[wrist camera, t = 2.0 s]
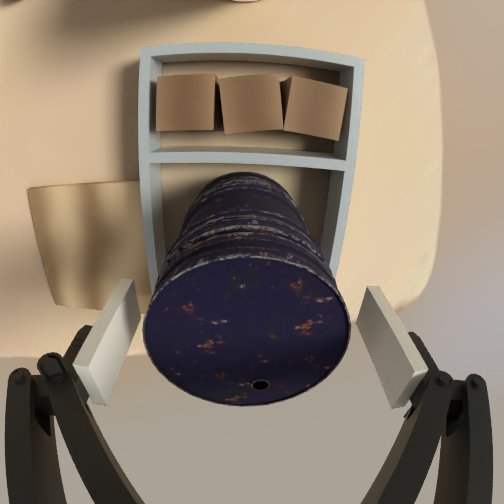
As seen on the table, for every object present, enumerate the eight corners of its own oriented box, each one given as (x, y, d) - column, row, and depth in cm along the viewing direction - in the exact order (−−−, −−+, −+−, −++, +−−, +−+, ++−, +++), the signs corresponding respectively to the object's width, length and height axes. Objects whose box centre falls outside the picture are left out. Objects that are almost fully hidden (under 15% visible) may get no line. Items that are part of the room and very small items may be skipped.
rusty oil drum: (173, 186, 24) (102, 280, 11) (287, 158, 24) (346, 225, 10) (207, 283, 29) (187, 415, 16) (306, 261, 28) (353, 387, 15)
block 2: (227, 130, 23) (224, 134, 19) (222, 84, 21) (218, 78, 17) (276, 126, 23) (283, 129, 19) (272, 79, 21) (278, 73, 17)
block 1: (169, 127, 22) (155, 131, 19) (170, 81, 20) (157, 76, 17) (217, 127, 22) (212, 130, 19) (219, 80, 21) (215, 74, 17)
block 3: (276, 127, 23) (283, 130, 19) (284, 81, 21) (292, 75, 17) (323, 135, 23) (338, 141, 19) (331, 91, 21) (347, 88, 18)
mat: (58, 301, 30) (55, 304, 29) (30, 187, 23) (27, 189, 23) (165, 311, 30) (164, 315, 30) (152, 180, 24) (150, 181, 24)
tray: (161, 288, 29) (154, 308, 26) (153, 55, 19) (140, 47, 16) (319, 292, 30) (327, 312, 27) (349, 64, 20) (364, 59, 17)
